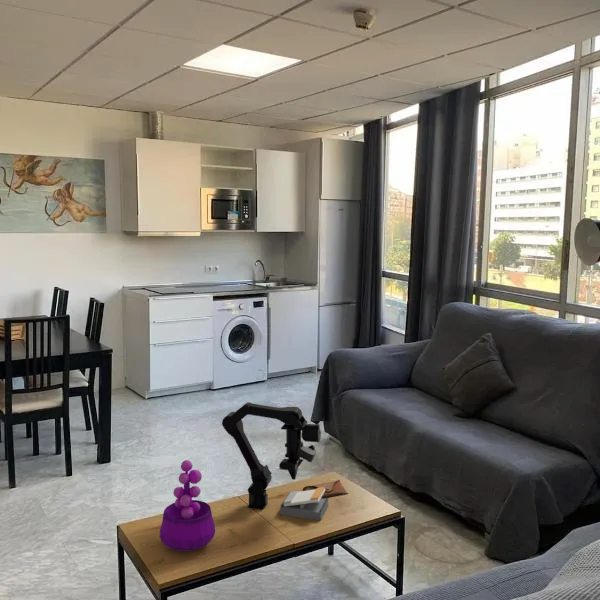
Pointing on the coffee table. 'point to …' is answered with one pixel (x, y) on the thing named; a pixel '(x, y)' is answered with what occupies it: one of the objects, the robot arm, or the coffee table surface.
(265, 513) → the coffee table surface
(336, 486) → the sunglasses case
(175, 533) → the decorative plant
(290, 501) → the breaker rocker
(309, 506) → the box
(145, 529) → the coffee table surface
